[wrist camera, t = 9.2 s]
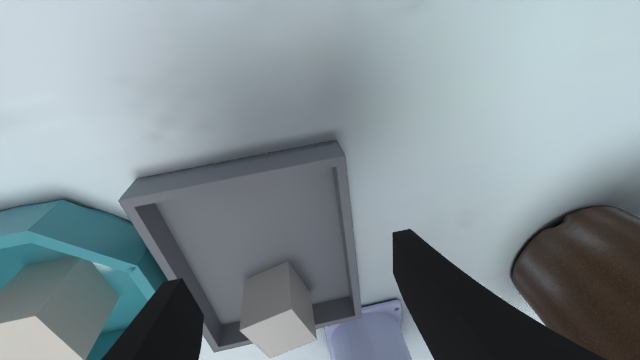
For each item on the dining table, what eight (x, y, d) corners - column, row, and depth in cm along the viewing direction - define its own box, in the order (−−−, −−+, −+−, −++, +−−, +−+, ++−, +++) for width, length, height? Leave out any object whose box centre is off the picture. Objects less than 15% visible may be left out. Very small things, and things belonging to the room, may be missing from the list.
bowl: (203, 311, 25) (195, 349, 22) (46, 346, 24) (17, 389, 22) (128, 184, 18) (102, 215, 15) (-94, 228, 17) (-165, 268, 15)
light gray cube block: (310, 291, 25) (316, 339, 21) (270, 308, 26) (270, 358, 22) (288, 261, 23) (291, 308, 19) (244, 279, 23) (239, 330, 19)
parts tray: (355, 294, 27) (362, 318, 25) (218, 325, 26) (213, 352, 24) (336, 140, 19) (345, 156, 17) (136, 178, 18) (117, 200, 16)
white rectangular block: (119, 296, 22) (85, 360, 18) (67, 308, 22) (19, 375, 18) (84, 253, 20) (35, 316, 15) (25, 265, 19) (-42, 332, 15)
